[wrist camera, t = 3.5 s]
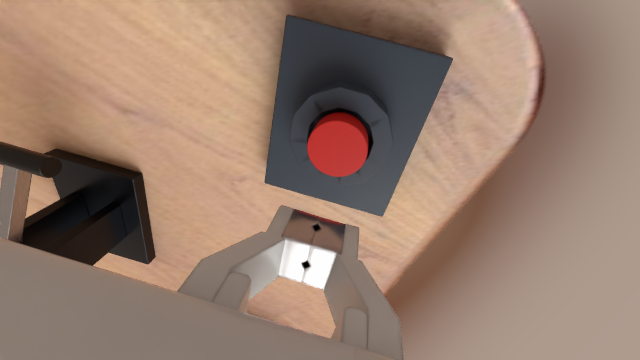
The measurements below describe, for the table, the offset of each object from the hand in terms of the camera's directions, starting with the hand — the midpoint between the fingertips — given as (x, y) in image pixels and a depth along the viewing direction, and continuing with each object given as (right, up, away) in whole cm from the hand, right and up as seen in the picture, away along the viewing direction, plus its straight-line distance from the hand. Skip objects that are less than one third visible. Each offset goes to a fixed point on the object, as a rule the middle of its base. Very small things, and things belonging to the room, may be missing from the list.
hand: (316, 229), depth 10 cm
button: (+1, +4, +7) cm, 9 cm away
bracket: (-23, -1, +19) cm, 30 cm away
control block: (+2, +6, +10) cm, 12 cm away
